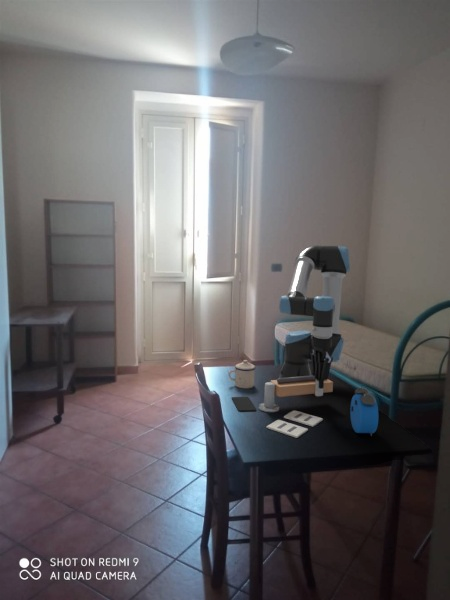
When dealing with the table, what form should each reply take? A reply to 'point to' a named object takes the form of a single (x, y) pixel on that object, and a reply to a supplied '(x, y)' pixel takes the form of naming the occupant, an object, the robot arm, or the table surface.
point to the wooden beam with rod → (292, 388)
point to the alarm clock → (364, 412)
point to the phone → (243, 404)
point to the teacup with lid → (243, 375)
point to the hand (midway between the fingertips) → (318, 395)
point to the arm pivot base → (265, 409)
